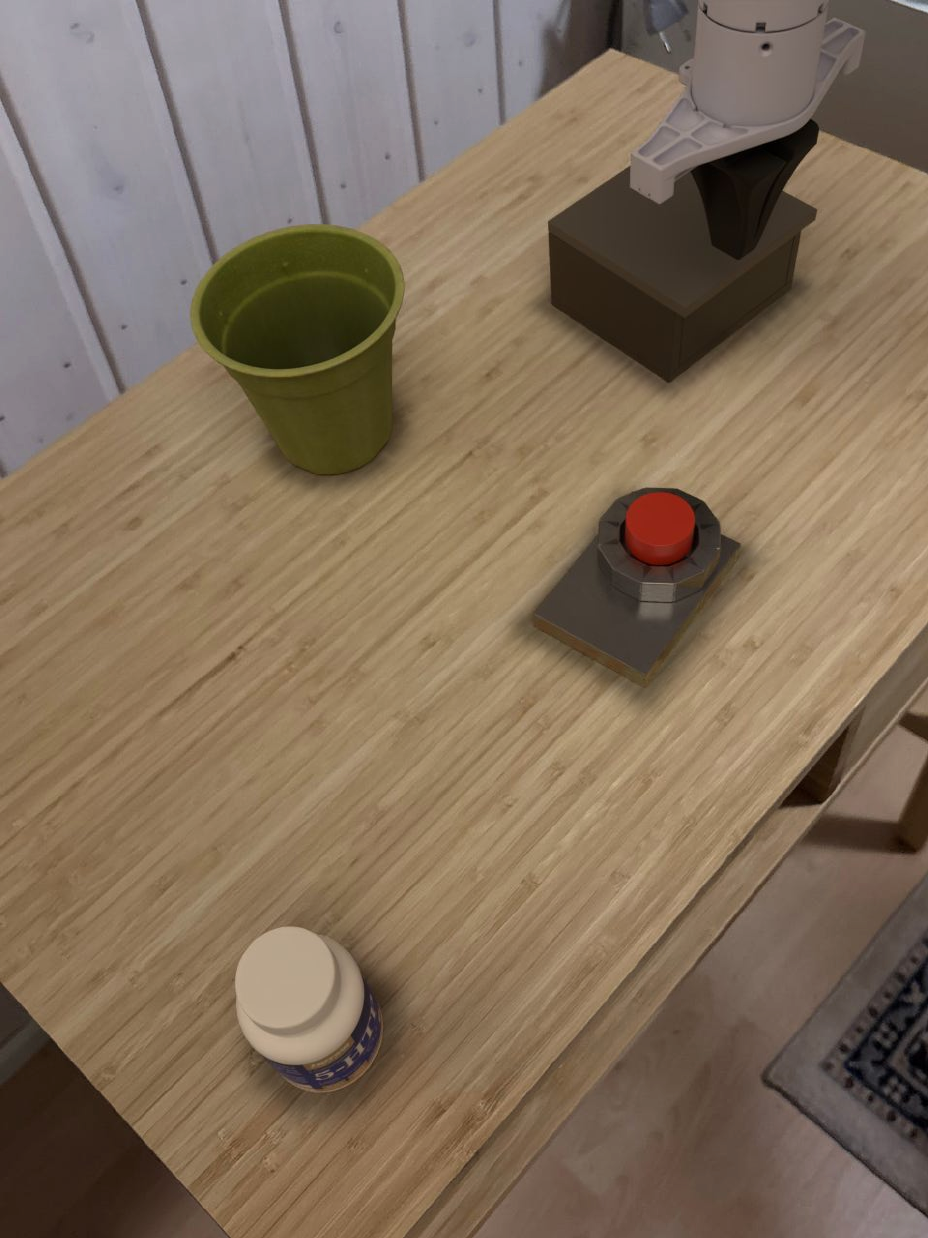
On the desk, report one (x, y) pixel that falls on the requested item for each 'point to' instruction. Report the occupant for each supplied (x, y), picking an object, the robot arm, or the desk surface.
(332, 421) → the plant pot
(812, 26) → the robot arm
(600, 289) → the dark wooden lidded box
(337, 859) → the desk surface
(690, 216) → the lid
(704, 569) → the button block
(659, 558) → the button
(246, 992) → the pill bottle
